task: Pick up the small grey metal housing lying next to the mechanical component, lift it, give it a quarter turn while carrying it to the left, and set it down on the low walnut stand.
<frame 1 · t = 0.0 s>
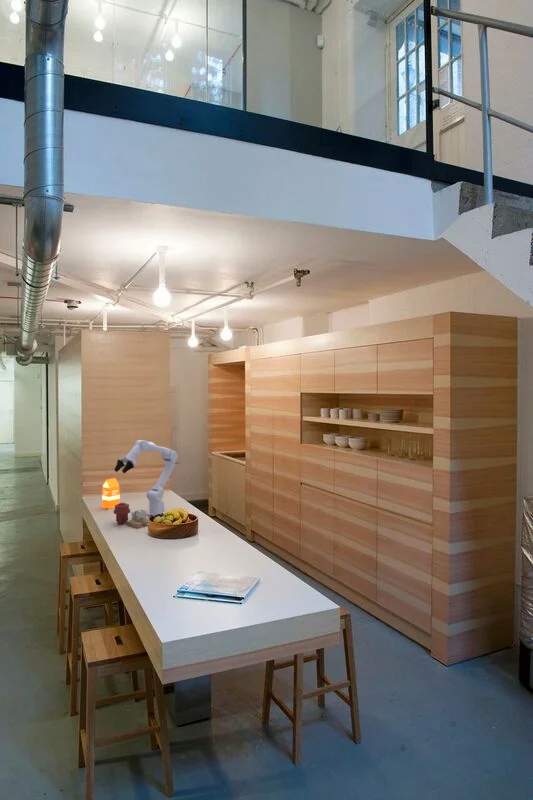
hand: (119, 471, 322), 32 cm above the table, tool tilted 50°, fingers open, 7 cm apart
mechanical component: (122, 523, 324), on the table
orange juice: (111, 507, 364), on the table
stand: (139, 524, 321), on the table
housing: (139, 520, 332), on the table
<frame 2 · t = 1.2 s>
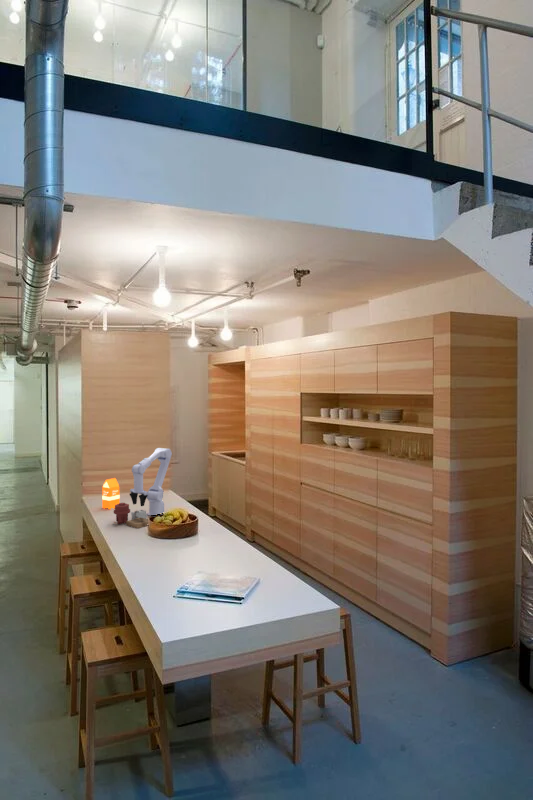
hand: (138, 505, 331), 10 cm above the table, tool pointing down, fingers open, 7 cm apart
nothing on the table moved.
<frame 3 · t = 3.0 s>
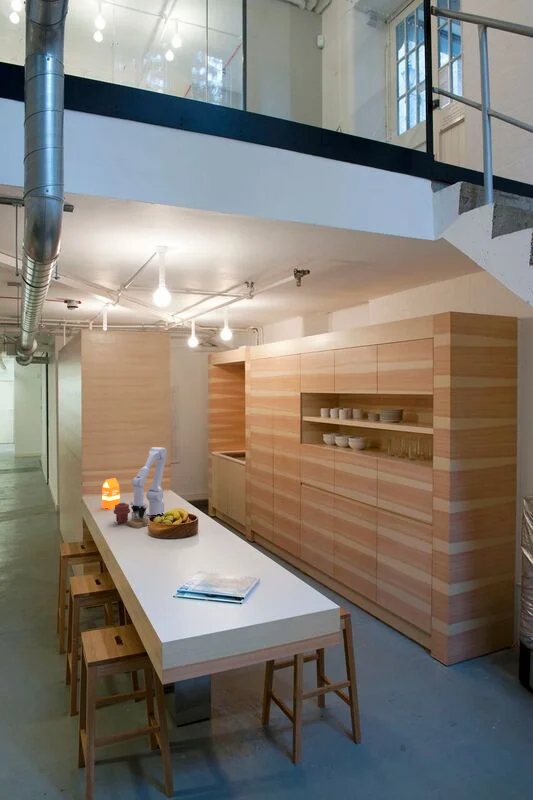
hand: (138, 517, 332), 1 cm above the table, tool pointing down, fingers closed on housing, 4 cm apart
housing: (139, 519, 332), on the table, touching gripper
everything else where it was.
when the fingers open (5 cm above the table, at t = 7.5 s): housing stays where it is, resting on stand.
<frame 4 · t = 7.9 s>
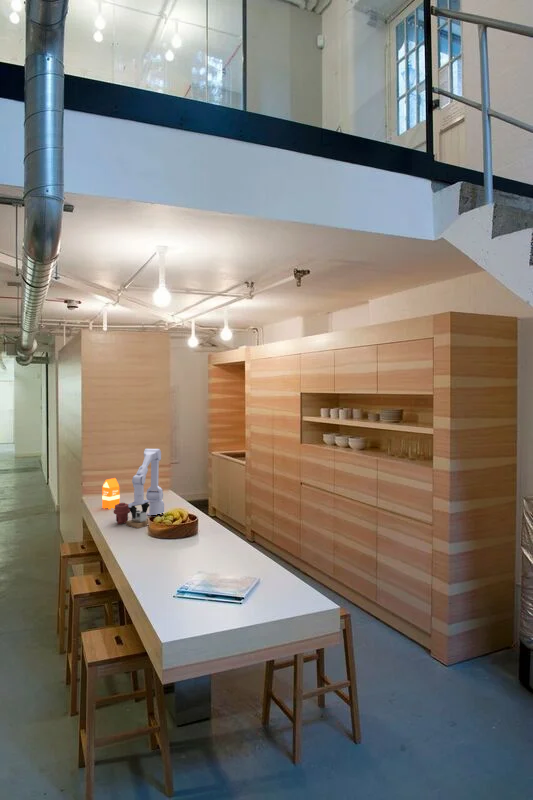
hand: (139, 516, 320), 5 cm above the table, tool pointing down, fingers open, 7 cm apart
housing: (139, 520, 321), point 2 cm above the table, touching stand
everything else where it was.
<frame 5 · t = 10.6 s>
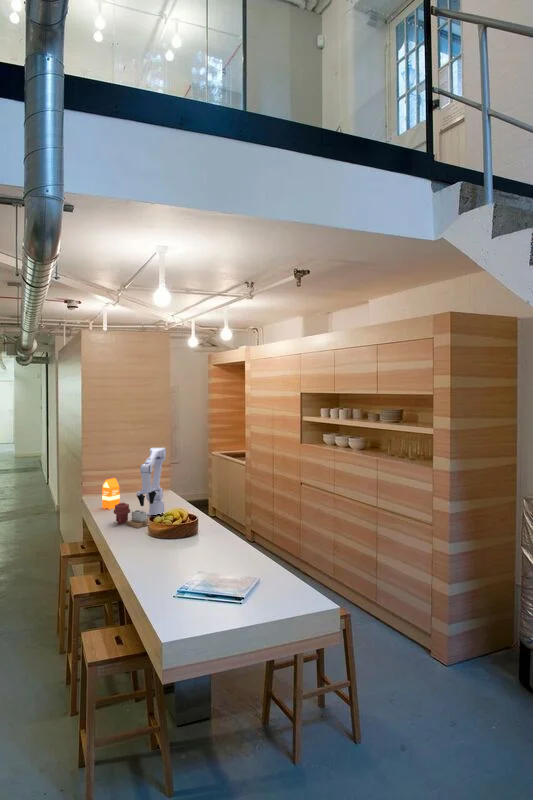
hand: (146, 504, 328), 10 cm above the table, tool pointing down, fingers open, 7 cm apart
nothing on the table moved.
at the end: housing inside the target area on the stand (0.1 cm from its centre), point 2.5 cm above the stand's base; housing tilted 0°; the gripper is holding nothing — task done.
